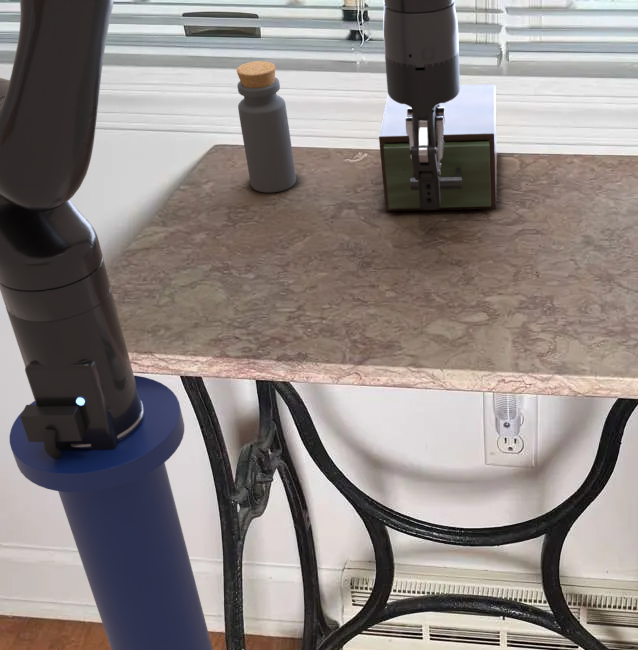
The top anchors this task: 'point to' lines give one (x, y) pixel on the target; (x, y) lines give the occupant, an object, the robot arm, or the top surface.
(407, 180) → the drawer
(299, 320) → the top surface
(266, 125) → the bottle
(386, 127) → the cabinet
